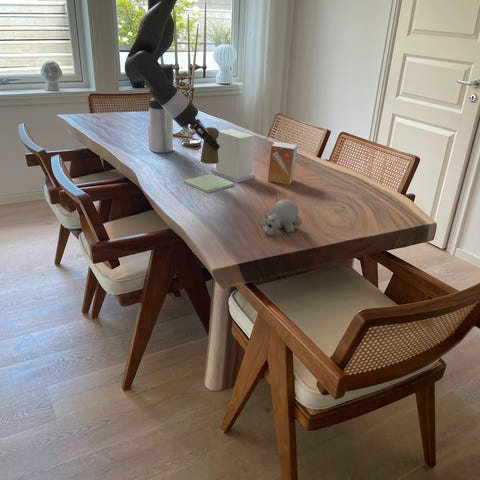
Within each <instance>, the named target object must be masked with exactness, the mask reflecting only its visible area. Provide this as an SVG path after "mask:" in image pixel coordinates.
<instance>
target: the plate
mask: <svg viewBox="0 0 480 480" xmlns="http://www.w3.org/2000/svg"><path fill="white" fill-rule="evenodd" d="M183 183H184V184H186V185H188V186H191V187H193V188H196V189H197V190H199V191H202V192H205V193H207V194H209V193H213V192H216V191H220V190H223V189H226V188H227V189H228V188H229V187H234V186H235V182H234V183H233V181H232V182H231V181H230V180H229V181H228V179H225V178H223V177H222V178H221V177H220V176H218V175H217V176H216V175H215V174H213V173H210V174H205V175H200V176H197V177H192V178H188V179H185V180H183Z"/></svg>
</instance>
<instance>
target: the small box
mask: <svg viewBox="0 0 480 480" xmlns="http://www.w3.org/2000/svg"><path fill="white" fill-rule="evenodd" d="M270 148H271V149H270V157H269V165H268V166H269V167H268V173H267V174H268V176H267V182H270V183H271V182H272V183H277V184H281V185H282V184H283V185H287V184H288V186H290V185H291V183H292V182H293V181H294V177H295V176H294V175H295V167H296V160H297V159H296V158H297V152H298V144H294V143H289V142H287V143H286V142H280V141H275V142H273V144H272V145H271V147H270Z"/></svg>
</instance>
